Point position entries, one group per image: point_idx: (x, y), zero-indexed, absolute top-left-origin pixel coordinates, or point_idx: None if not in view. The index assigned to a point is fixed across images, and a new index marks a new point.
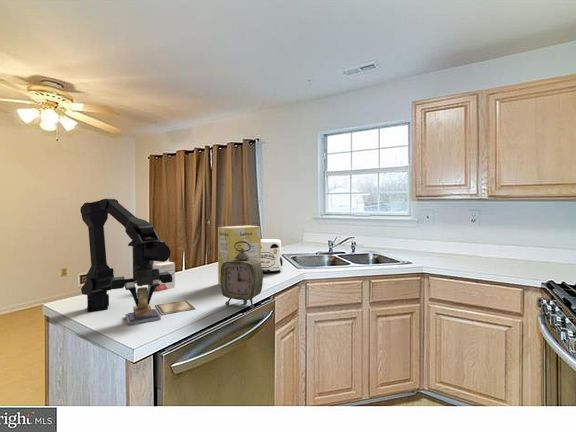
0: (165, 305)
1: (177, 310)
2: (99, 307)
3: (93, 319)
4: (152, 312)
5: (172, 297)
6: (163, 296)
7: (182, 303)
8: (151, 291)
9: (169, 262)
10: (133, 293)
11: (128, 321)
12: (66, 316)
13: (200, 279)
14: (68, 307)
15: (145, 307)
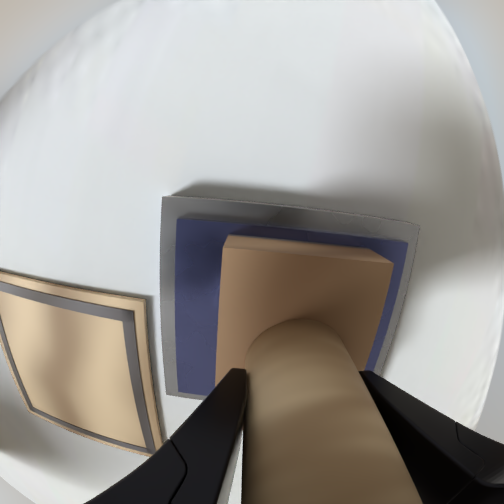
0: (113, 426)
1: (47, 300)
2: None
3: (455, 406)
4: (205, 325)
5: (94, 476)
6: None
7: (36, 389)
8: (165, 496)
9: None
10: (495, 453)
11: (413, 241)
12: None
13: (44, 500)
14: None
15: (281, 331)
